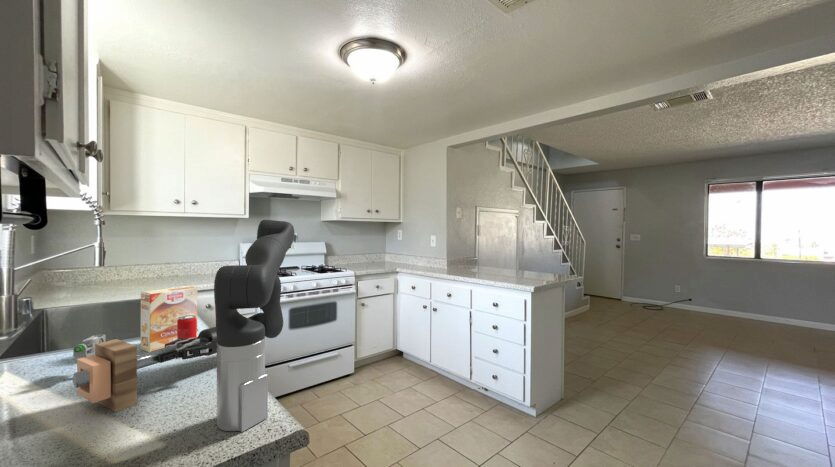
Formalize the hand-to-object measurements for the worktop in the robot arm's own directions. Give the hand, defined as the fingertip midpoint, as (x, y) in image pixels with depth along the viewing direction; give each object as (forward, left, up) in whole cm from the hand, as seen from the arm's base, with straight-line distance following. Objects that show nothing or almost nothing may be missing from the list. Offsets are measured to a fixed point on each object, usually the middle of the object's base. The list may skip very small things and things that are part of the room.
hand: (154, 357), depth 88 cm
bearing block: (0, +8, -8) cm, 11 cm away
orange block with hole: (0, +12, -5) cm, 13 cm away
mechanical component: (+24, +4, -8) cm, 26 cm away
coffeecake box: (+32, -20, -8) cm, 38 cm away
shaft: (0, +4, -2) cm, 5 cm away
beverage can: (+18, -18, -8) cm, 26 cm away
